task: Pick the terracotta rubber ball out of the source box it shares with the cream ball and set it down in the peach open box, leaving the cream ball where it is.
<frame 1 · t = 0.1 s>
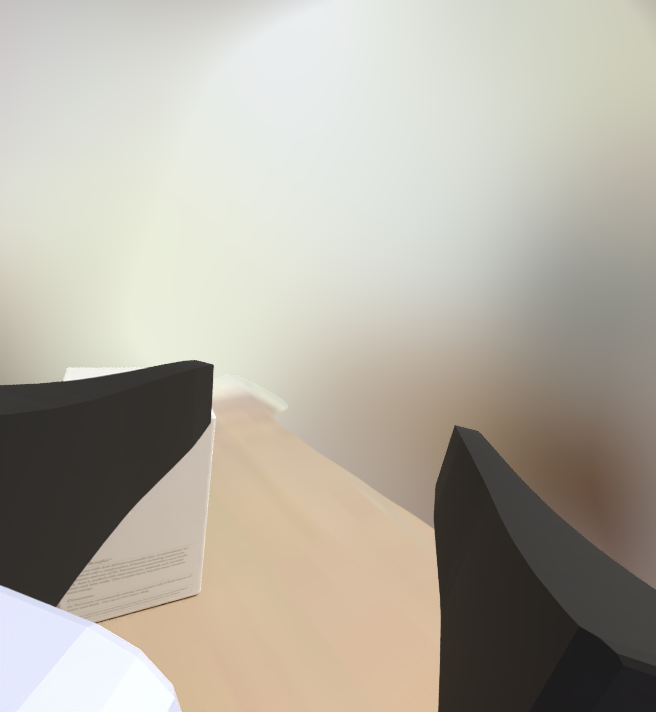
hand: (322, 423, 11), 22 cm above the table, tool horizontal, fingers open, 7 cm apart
supplement box: (132, 565, 30), on the table
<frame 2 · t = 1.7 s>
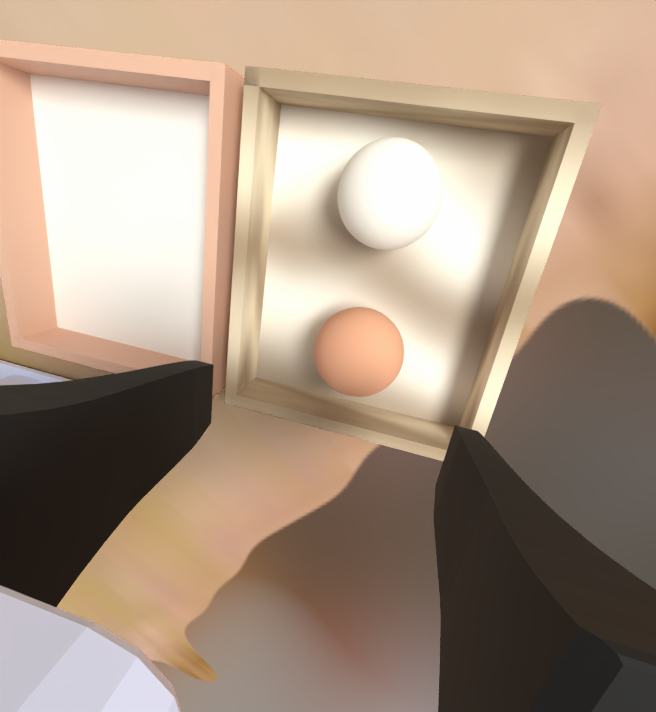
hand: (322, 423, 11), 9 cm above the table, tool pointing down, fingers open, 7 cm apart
cream ball: (389, 196, 15), point 2 cm above the table, touching source box
terracotta ball: (358, 352, 17), point 2 cm above the table, touching source box
source box: (378, 278, 18), on the table
peach open box: (138, 231, 20), on the table
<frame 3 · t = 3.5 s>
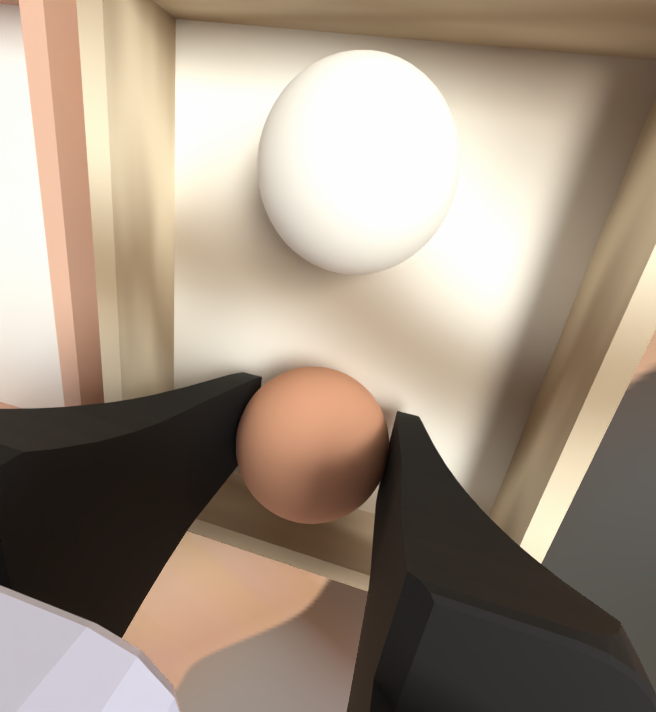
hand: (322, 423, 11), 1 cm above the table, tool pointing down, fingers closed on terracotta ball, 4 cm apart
cream ball: (356, 174, 8), point 2 cm above the table, touching source box
terracotta ball: (313, 441, 10), point 2 cm above the table, touching gripper, source box
source box: (349, 313, 11), on the table
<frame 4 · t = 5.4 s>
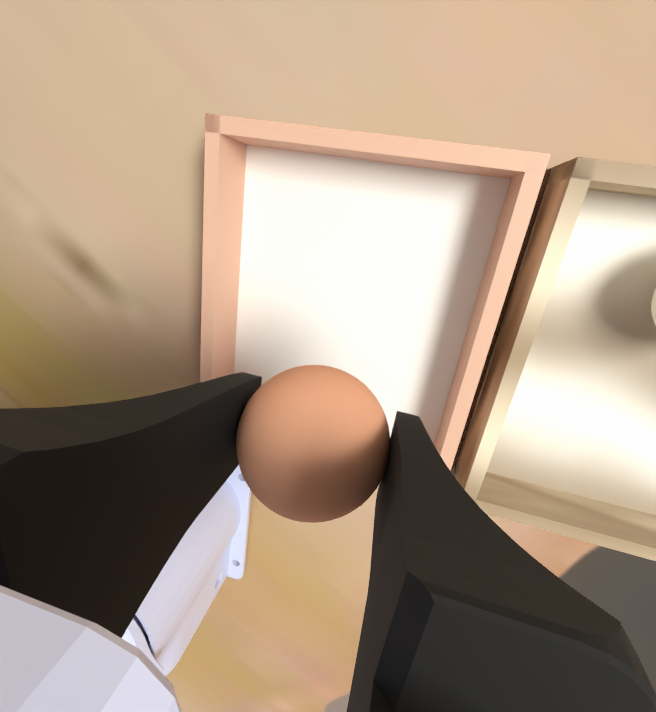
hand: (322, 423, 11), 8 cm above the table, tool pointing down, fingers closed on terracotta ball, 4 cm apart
terracotta ball: (313, 440, 10), point 9 cm above the table, touching gripper
source box: (645, 371, 16), on the table
peach open box: (347, 311, 18), on the table
when the fingers open (3 cm above the table, at t = 7.4 s): terracotta ball drops 2 cm, resting on peach open box.
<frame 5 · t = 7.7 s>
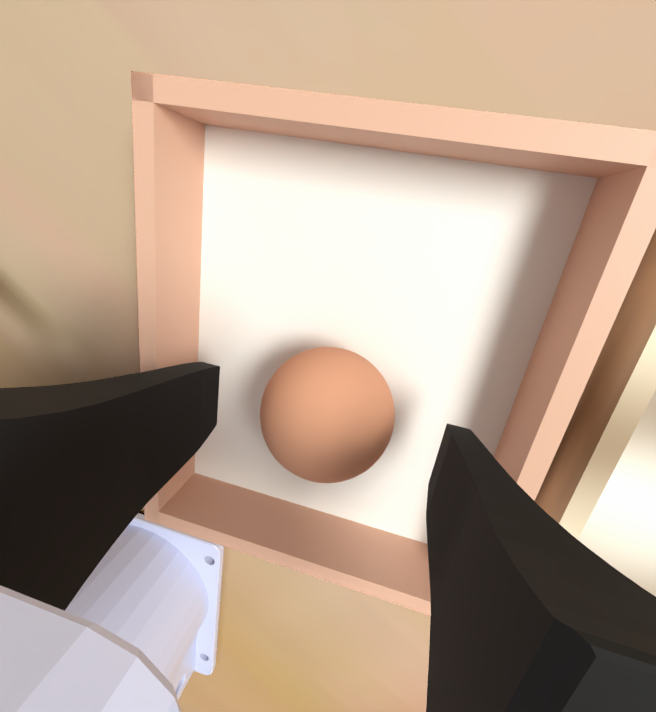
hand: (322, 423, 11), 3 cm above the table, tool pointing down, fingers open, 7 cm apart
terracotta ball: (327, 413, 12), point 2 cm above the table, touching peach open box
peach open box: (347, 358, 13), on the table
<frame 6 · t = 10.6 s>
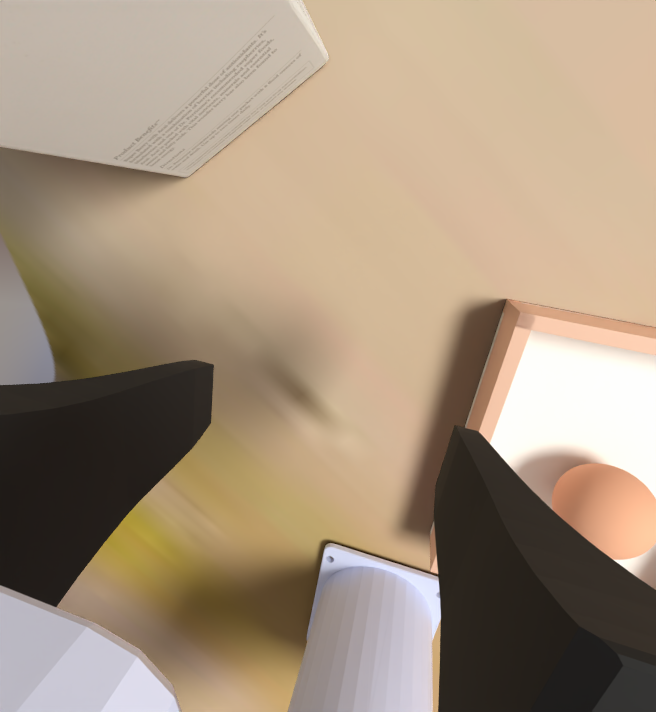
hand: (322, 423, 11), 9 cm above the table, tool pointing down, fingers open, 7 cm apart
terracotta ball: (603, 509, 17), point 2 cm above the table, touching peach open box
supplement box: (201, 34, 17), on the table
peach open box: (588, 461, 19), on the table
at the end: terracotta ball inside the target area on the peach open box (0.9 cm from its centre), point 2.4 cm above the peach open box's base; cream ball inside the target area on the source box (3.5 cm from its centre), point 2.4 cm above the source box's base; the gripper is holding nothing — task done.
